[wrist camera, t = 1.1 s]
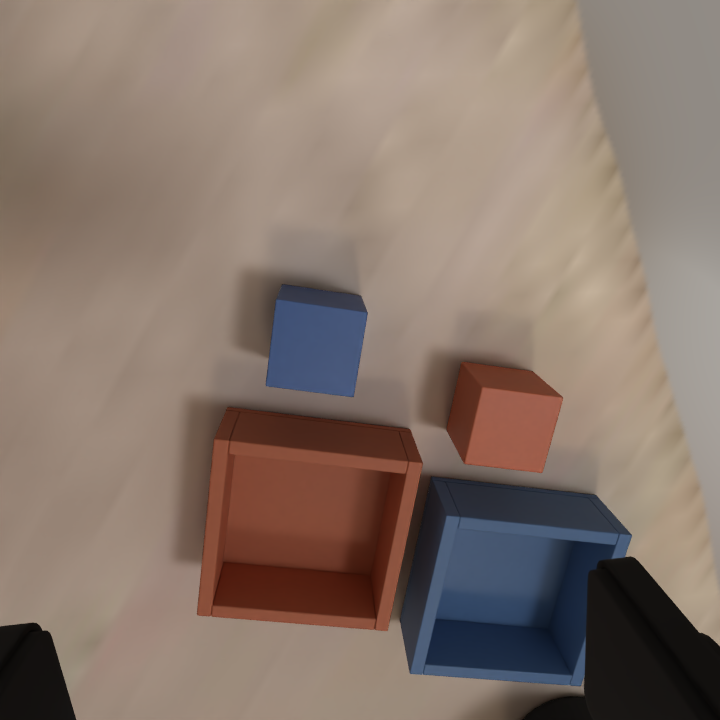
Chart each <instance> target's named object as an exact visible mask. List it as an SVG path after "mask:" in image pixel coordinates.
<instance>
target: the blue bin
mask: <svg viewBox="0 0 720 720" xmlns="http://www.w3.org/2000/svg"><path fill="white" fill-rule="evenodd" d="M631 537H632V535H631V534H630V532H629V531H628V530H627V529H626V528H625V527H624V526H623V525H622V524H621V522H620V521H619V520H618V519H617V518H616V517H615V516H614V515H613V514H612V512H611V511H610V510H609V509H608V508H607V507H606V506H605V505H604V504H603V502H602V501H601V500H600V499H599V498H598V497H597V496H596V495H590V494H581V493H573V492H564V491H555V490H546V489H537V488H528V487H520V486H511V485H502V484H493V483H484V482H476V481H467V480H458V479H449V478H440V477H431V480H430V485H429V489H428V494H427V499H426V503H425V508H424V512H423V517H422V522H421V526H420V531H419V535H418V540H417V544H416V549H415V554H414V558H413V563H412V567H411V572H410V577H409V581H408V586H407V590H406V595H405V600H404V604H403V609H402V613H401V618H400V623H401V628H402V634H403V639H404V644H405V650H406V655H407V661H408V666H409V671H410V674H420V675H422V673H423V675H435V676H448V677H462V678H476V679H489V680H503V681H517V682H530V683H544V684H557V685H571V686H581V684H582V681H583V678H584V675H585V646H586V615H587V583H588V573H589V571H590V570H595V569H596V567H597V563H598V561H600V560H605V559H614V558H623V557H625V555H626V552H627V549H628V546H629V543H630V540H631Z"/></svg>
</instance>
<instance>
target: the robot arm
mask: <svg viewBox="0 0 720 720" xmlns="http://www.w3.org/2000/svg"><path fill="white" fill-rule="evenodd" d="M584 694H585V700H586V704H587V707H588V710H589V712H590V715H591V717H592V719H593V720H720V646H719V645H718V644H717V643H716V642H715V641H714V640H713V639H711V638H710V637H709V636H707V635H705V634H703V633H699V632H698V631H697V630H696V628H695V627H694V626H693V625H692V624H691V623H690V621H689V620H688V619H687V618H686V617H685V615H684V614H683V613H682V612H681V611H680V610H679V608H678V607H677V606H676V605H675V604H674V603H673V601H672V600H671V599H670V598H669V597H668V595H667V594H666V593H665V592H664V591H663V590H662V588H661V587H660V586H659V585H658V584H657V583H656V581H655V580H654V579H653V578H652V577H651V575H650V574H649V573H648V572H647V571H646V570H645V568H644V567H643V566H642V565H641V564H640V563H639V561H637V560H636V559H635V558H633V557H623V558H614V559H605V560H600V561H598V563H597V567H596V569H595V570H590V571H589V573H588V583H587V615H586V646H585V678H584ZM0 720H76V717H75V714H74V711H73V707H72V704H71V700H70V697H69V694H68V690H67V687H66V683H65V680H64V677H63V673H62V670H61V667H60V663H59V660H58V656H57V653H56V650H55V646H54V643H53V639H52V636H51V634H50V633H49V632H48V631H42V629H41V627H40V626H39V625H38V624H37V623H26V624H17V625H8V626H1V627H0Z"/></svg>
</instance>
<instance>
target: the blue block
mask: <svg viewBox="0 0 720 720" xmlns="http://www.w3.org/2000/svg"><path fill="white" fill-rule="evenodd" d="M367 314H368V313H367V310H366V307H365V305H364V302H363V299H362V297H361V296H359V295H353V294H346V293H339V292H332V291H326V290H319V289H312V288H305V287H298V286H292V285H285V284H282V286H281V288H280V291H279V293H278V296H277V299H276V304H275V312H274V320H273V328H272V337H271V345H270V353H269V362H268V370H267V378H266V386H269V387H277V388H285V389H293V390H300V391H308V392H316V393H324V394H332V395H340V396H347V397H354V392H355V386H356V380H357V374H358V368H359V362H360V356H361V350H362V344H363V338H364V332H365V326H366V320H367Z"/></svg>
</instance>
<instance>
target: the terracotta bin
mask: <svg viewBox="0 0 720 720" xmlns="http://www.w3.org/2000/svg"><path fill="white" fill-rule="evenodd" d="M422 466H423V462H422V460H421V457H420V454H419V452H418V449H417V446H416V444H415V441H414V438H413V436H412V433H411V430H410V429H403V428H395V427H387V426H379V425H370V424H362V423H354V422H346V421H338V420H330V419H321V418H313V417H305V416H297V415H289V414H281V413H272V412H264V411H256V410H248V409H240V408H232V407H227V409H226V412H225V414H224V417H223V419H222V421H221V424H220V426H219V428H218V431H217V433H216V436H215V438H214V442H213V453H212V463H211V473H210V484H209V494H208V505H207V515H206V526H205V536H204V546H203V557H202V567H201V578H200V588H199V598H198V609H197V615H198V616H211V615H212V617H223V618H235V619H247V620H260V621H272V622H284V623H296V624H309V625H321V626H333V627H346V628H358V629H370V630H374V629H375V630H380V631H387V630H388V626H389V621H390V617H391V612H392V607H393V602H394V598H395V593H396V588H397V584H398V579H399V574H400V569H401V565H402V560H403V555H404V551H405V546H406V541H407V536H408V532H409V527H410V522H411V518H412V513H413V508H414V503H415V499H416V494H417V489H418V485H419V480H420V475H421V470H422Z"/></svg>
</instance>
